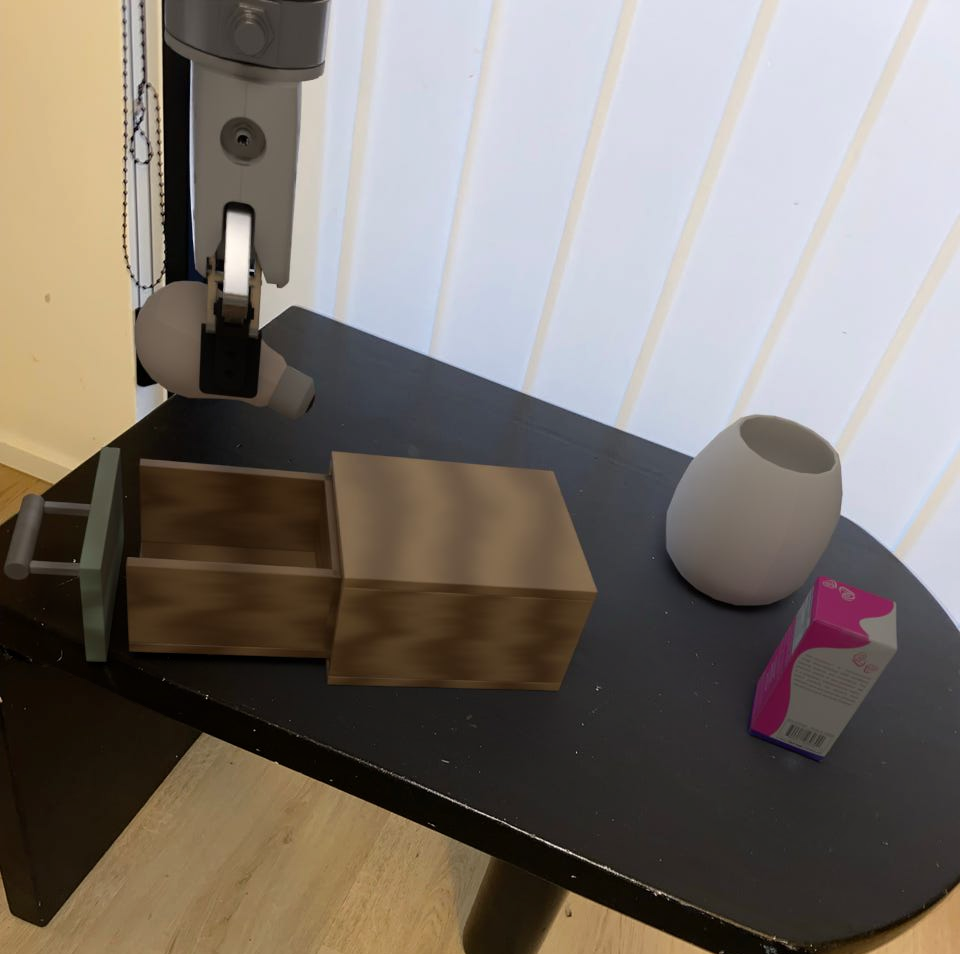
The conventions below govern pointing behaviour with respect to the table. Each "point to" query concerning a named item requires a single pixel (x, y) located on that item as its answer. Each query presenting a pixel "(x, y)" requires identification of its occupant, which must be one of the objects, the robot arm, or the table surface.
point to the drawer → (202, 559)
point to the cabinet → (454, 576)
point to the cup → (755, 510)
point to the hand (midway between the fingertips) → (228, 359)
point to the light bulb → (176, 352)
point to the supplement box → (823, 667)
